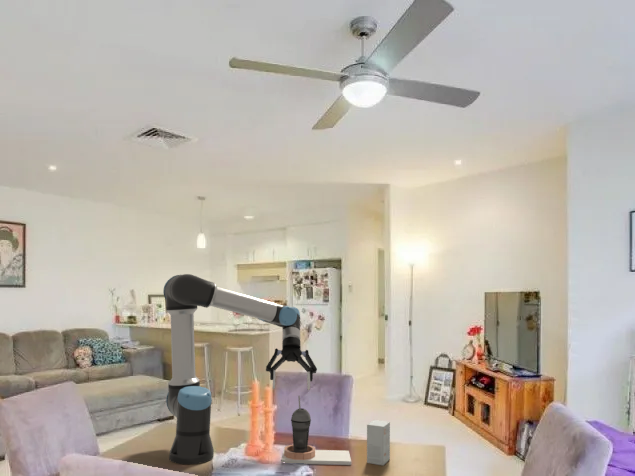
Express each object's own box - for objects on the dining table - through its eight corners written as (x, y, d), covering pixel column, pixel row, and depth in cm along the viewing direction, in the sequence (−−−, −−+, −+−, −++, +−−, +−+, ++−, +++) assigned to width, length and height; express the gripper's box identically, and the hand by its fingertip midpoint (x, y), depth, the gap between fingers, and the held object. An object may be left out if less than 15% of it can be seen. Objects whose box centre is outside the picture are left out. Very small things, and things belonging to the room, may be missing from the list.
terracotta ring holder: (283, 459, 168) (283, 453, 168) (285, 449, 179) (285, 443, 179) (315, 460, 168) (315, 454, 168) (315, 450, 179) (315, 444, 179)
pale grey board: (281, 463, 167) (281, 459, 167) (283, 452, 179) (283, 449, 179) (351, 465, 167) (351, 461, 167) (348, 454, 179) (348, 450, 179)
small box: (373, 456, 177) (373, 419, 179) (390, 459, 175) (390, 421, 176) (366, 462, 170) (366, 424, 172) (383, 465, 167) (383, 426, 169)
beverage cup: (301, 458, 168) (303, 398, 171) (285, 454, 173) (287, 395, 176) (314, 453, 174) (315, 395, 177) (298, 449, 178) (300, 393, 181)
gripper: (319, 346, 207) (321, 393, 192) (260, 344, 204) (258, 391, 189) (322, 337, 202) (324, 384, 187) (262, 334, 198) (259, 381, 183)
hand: (291, 387), depth 188 cm, fingers open, 13 cm apart
